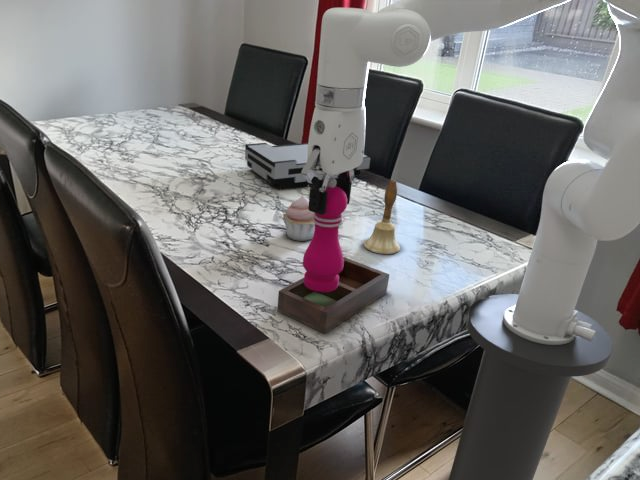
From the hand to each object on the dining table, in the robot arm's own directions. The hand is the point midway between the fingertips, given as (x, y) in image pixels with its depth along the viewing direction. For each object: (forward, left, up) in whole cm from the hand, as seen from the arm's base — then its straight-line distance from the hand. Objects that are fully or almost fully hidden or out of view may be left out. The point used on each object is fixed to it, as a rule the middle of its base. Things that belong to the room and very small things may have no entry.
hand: (329, 206), depth 97 cm
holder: (0, -5, -21) cm, 21 cm away
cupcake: (+24, -25, -21) cm, 40 cm away
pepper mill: (0, 0, -15) cm, 15 cm away
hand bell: (+7, -34, -21) cm, 40 cm away
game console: (+52, -63, -21) cm, 84 cm away
